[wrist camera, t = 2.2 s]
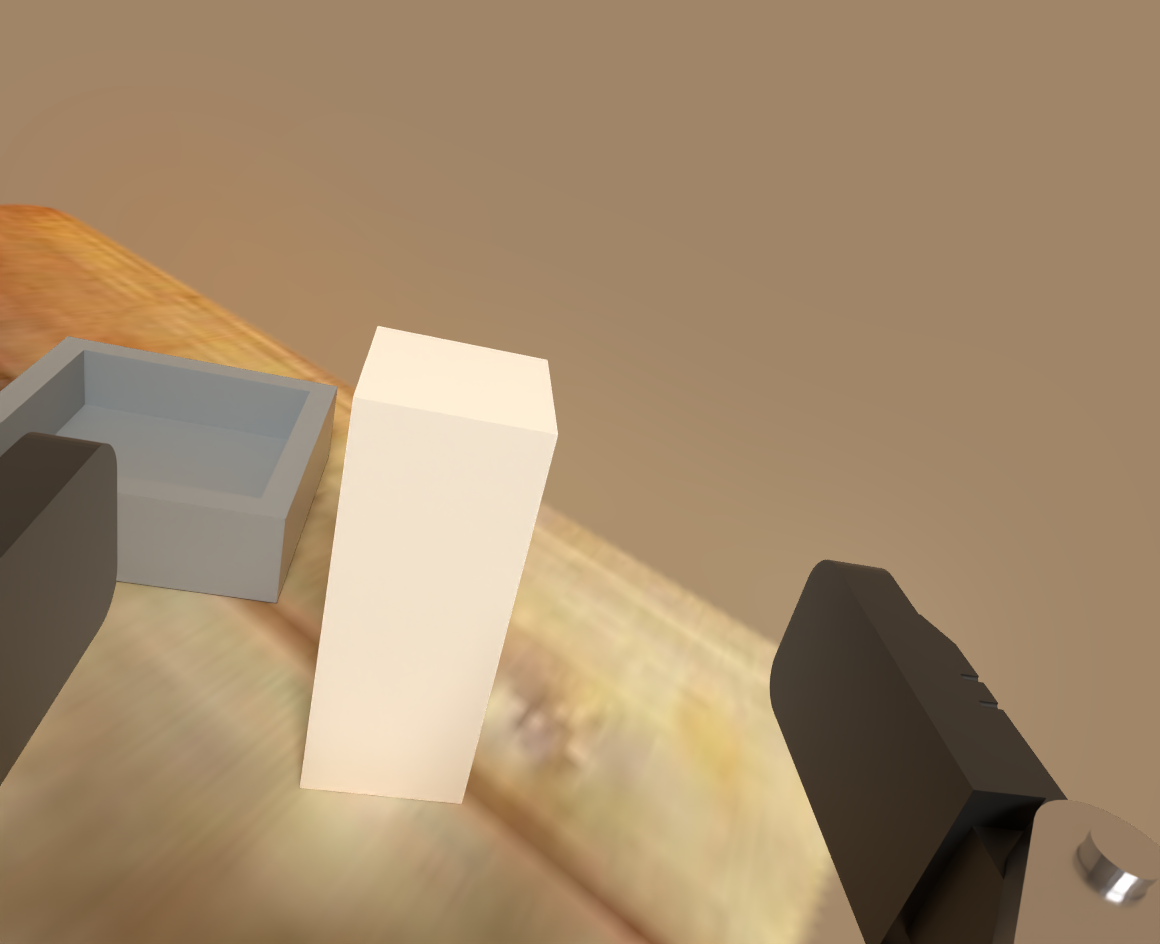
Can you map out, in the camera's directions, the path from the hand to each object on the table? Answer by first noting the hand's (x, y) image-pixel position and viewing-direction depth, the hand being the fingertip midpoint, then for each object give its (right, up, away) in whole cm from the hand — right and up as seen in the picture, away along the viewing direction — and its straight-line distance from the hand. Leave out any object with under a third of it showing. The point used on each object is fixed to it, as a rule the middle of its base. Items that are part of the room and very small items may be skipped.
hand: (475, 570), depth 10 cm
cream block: (-5, -7, +16) cm, 18 cm away
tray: (-15, 0, +24) cm, 28 cm away
